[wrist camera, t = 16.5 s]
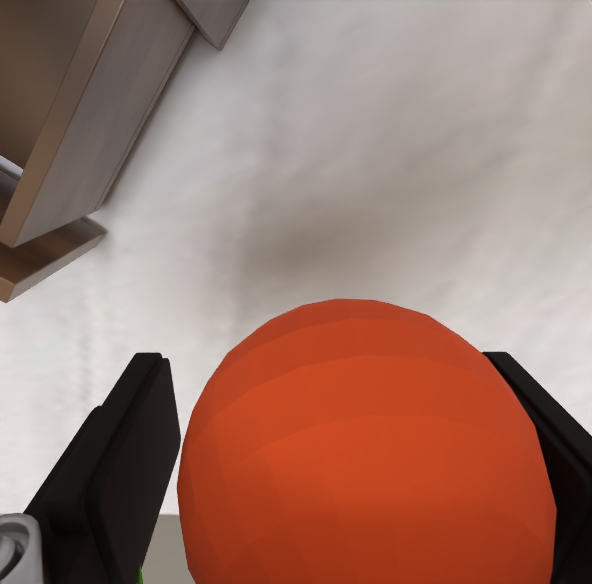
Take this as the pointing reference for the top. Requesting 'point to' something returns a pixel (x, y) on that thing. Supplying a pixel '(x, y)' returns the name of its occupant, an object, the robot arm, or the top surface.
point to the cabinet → (214, 17)
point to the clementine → (362, 458)
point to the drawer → (73, 118)
